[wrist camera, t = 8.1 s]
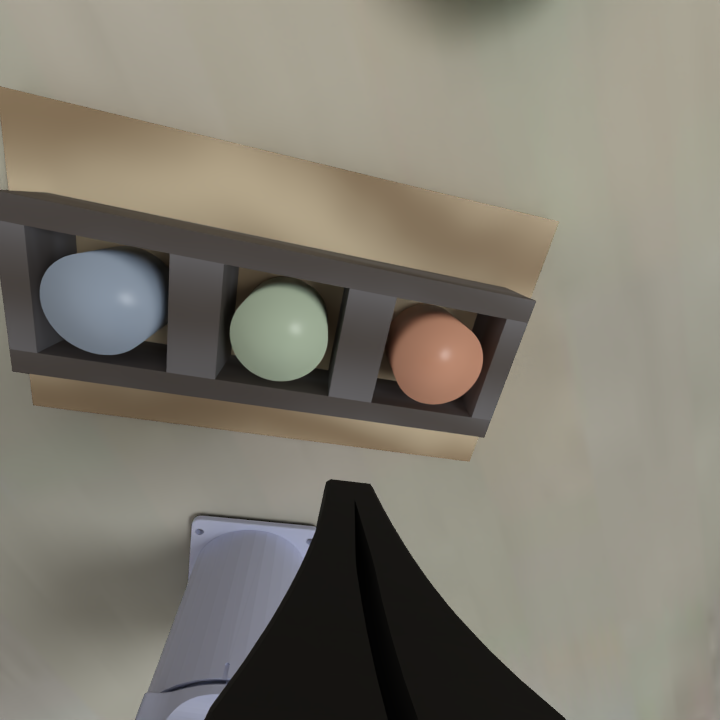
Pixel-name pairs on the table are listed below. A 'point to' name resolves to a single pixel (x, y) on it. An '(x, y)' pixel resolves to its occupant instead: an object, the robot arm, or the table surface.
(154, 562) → the table surface
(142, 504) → the table surface
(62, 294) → the slate button
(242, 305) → the sage button
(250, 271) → the button panel
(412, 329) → the terracotta button
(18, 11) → the table surface
